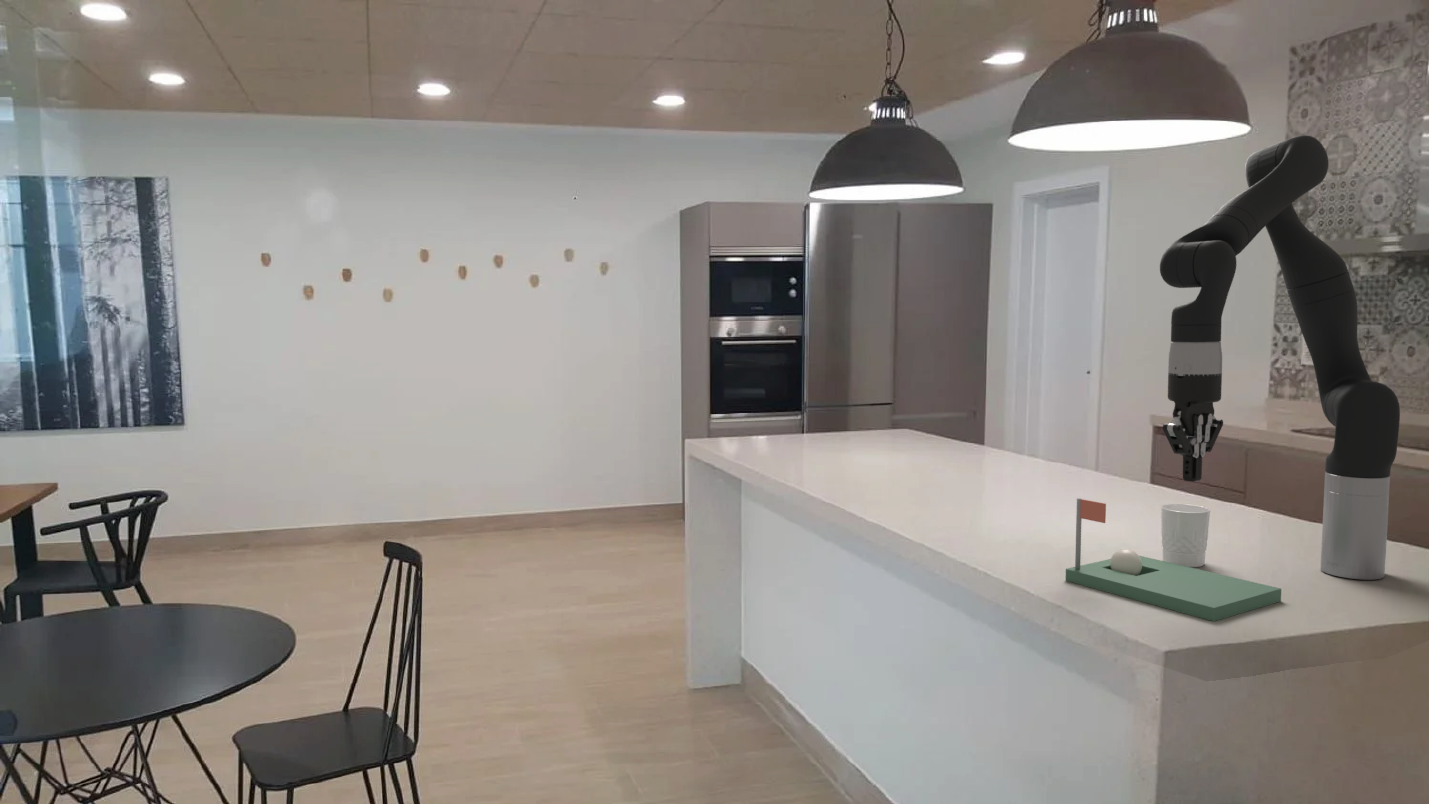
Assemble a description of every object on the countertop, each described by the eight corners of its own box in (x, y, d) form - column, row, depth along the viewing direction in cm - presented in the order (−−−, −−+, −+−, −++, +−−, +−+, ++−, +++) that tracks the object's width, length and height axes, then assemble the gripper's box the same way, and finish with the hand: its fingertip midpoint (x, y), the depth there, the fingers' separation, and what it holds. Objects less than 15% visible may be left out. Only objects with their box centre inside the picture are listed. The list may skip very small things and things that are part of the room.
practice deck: (1132, 565, 173) (1134, 487, 172) (1280, 601, 151) (1284, 512, 150) (1065, 580, 164) (1067, 498, 163) (1213, 621, 142) (1217, 527, 140)
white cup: (1166, 555, 180) (1168, 502, 179) (1212, 561, 175) (1214, 507, 174) (1154, 563, 174) (1155, 508, 173) (1201, 571, 169) (1204, 514, 168)
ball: (1121, 549, 167) (1146, 547, 163) (1126, 578, 167) (1151, 577, 162) (1101, 551, 165) (1125, 548, 161) (1106, 580, 164) (1130, 579, 160)
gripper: (1196, 368, 158) (1194, 473, 160) (1147, 371, 151) (1144, 481, 153) (1242, 369, 152) (1239, 479, 153) (1192, 373, 145) (1189, 488, 146)
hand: (1191, 480), depth 153 cm, fingers closed
